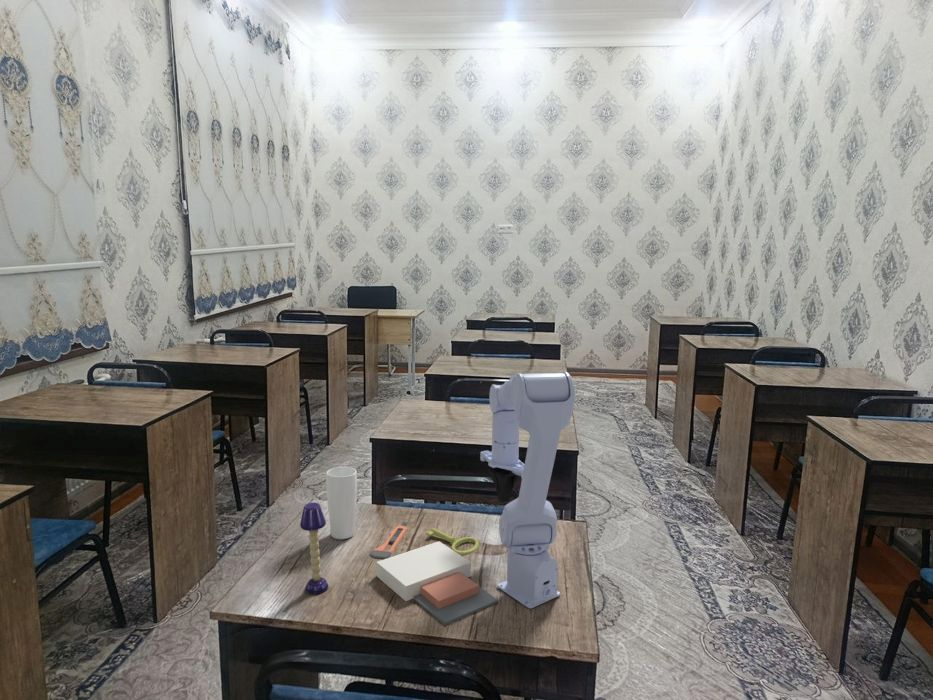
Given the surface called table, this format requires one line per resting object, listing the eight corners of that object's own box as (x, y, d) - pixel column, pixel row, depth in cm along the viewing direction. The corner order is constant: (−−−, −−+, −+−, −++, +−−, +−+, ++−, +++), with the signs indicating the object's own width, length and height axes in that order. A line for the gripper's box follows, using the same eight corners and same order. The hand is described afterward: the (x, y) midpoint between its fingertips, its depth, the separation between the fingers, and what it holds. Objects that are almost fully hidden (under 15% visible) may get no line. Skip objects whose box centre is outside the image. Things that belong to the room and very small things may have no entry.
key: (430, 535, 142) (430, 526, 141) (481, 544, 138) (482, 535, 137) (417, 549, 135) (417, 540, 135) (471, 559, 131) (471, 550, 131)
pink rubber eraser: (478, 593, 117) (478, 585, 116) (438, 608, 111) (438, 601, 111) (460, 579, 121) (460, 572, 121) (420, 593, 116) (420, 586, 116)
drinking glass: (321, 539, 138) (319, 475, 136) (336, 526, 144) (335, 464, 142) (349, 544, 136) (348, 478, 134) (363, 530, 142) (362, 468, 140)
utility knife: (368, 554, 130) (394, 518, 148) (368, 559, 131) (394, 522, 148) (387, 556, 130) (411, 520, 147) (387, 560, 130) (411, 523, 147)
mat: (498, 602, 114) (498, 599, 114) (444, 625, 107) (444, 622, 107) (465, 579, 122) (465, 576, 122) (413, 599, 115) (413, 596, 115)
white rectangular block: (470, 576, 123) (470, 562, 123) (405, 601, 114) (405, 586, 114) (439, 554, 132) (439, 541, 132) (376, 576, 123) (376, 561, 123)
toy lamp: (302, 596, 116) (299, 511, 113) (302, 583, 120) (299, 501, 117) (329, 592, 117) (326, 508, 114) (327, 580, 121) (325, 498, 119)
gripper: (469, 435, 136) (468, 494, 138) (514, 452, 124) (512, 517, 126) (494, 429, 140) (493, 487, 142) (539, 446, 128) (537, 508, 131)
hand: (504, 500), depth 134 cm, fingers closed
